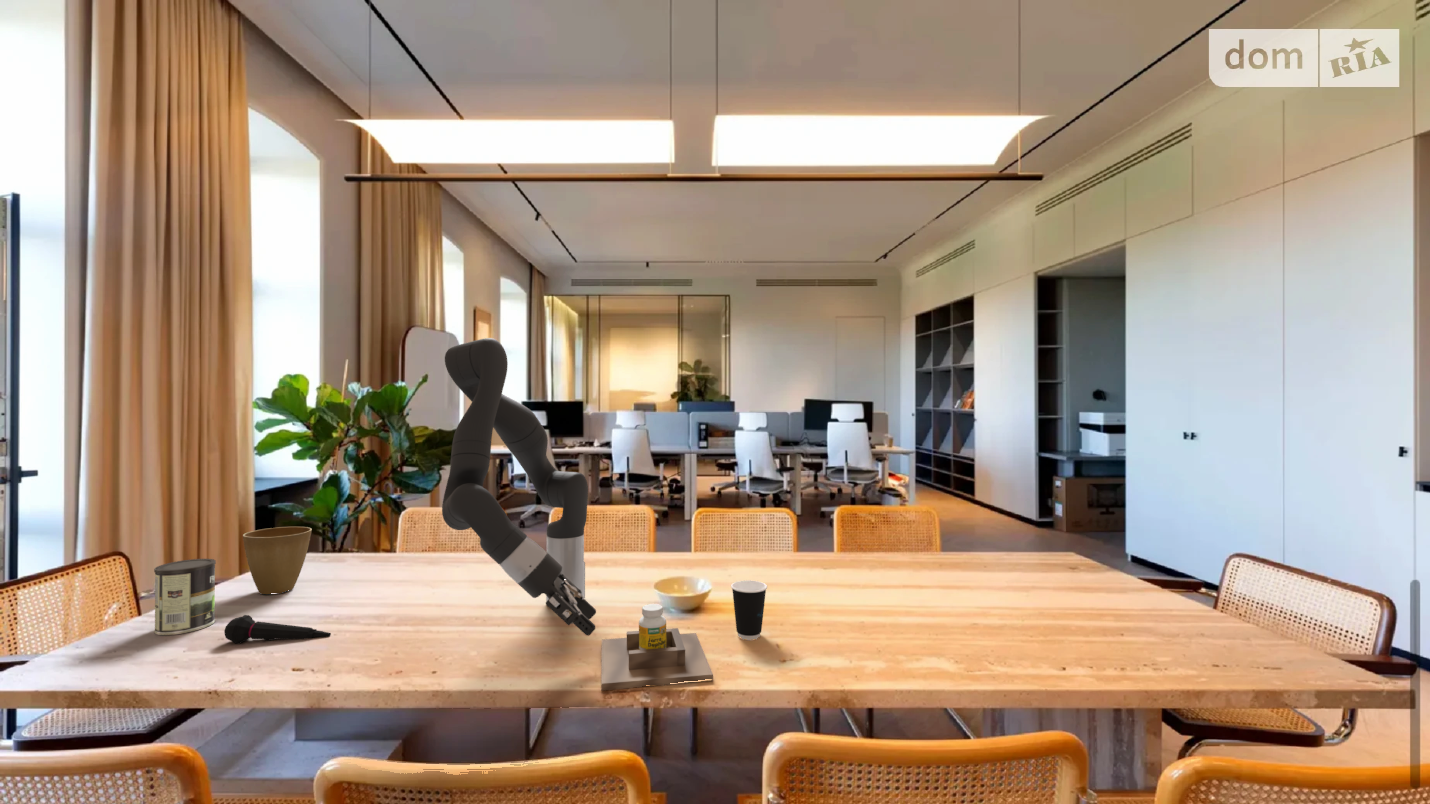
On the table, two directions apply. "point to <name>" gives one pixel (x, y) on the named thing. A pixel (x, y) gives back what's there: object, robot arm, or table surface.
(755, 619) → the dixie cup
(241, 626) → the microphone
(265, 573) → the plant pot
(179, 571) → the coffee can
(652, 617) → the supplement bottle
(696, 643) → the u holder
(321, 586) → the table surface
